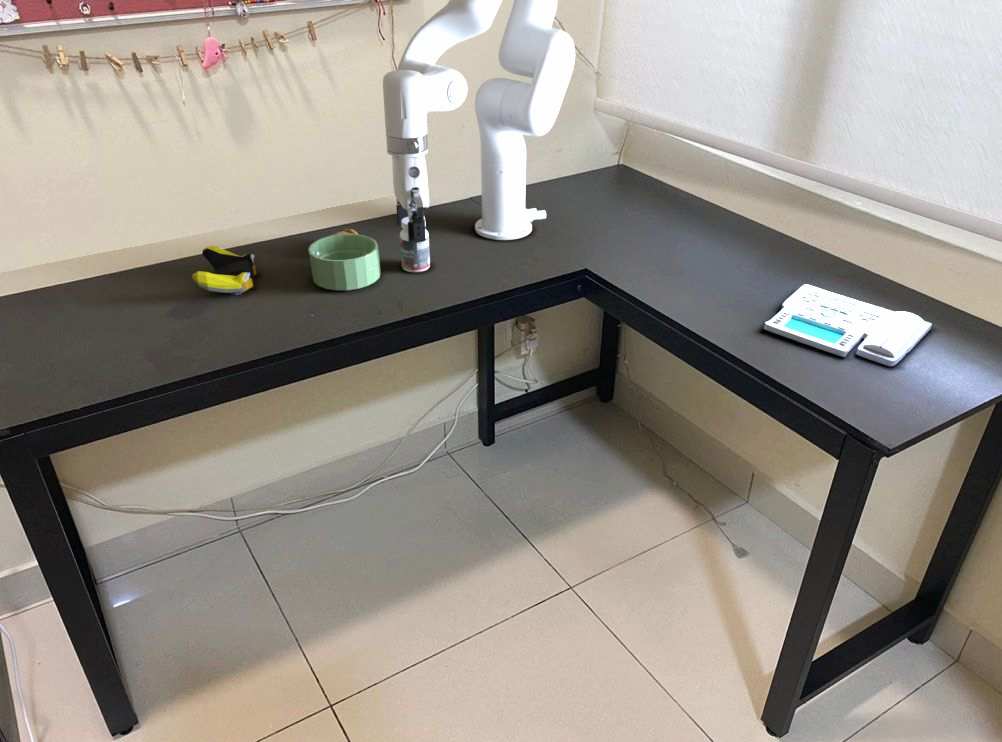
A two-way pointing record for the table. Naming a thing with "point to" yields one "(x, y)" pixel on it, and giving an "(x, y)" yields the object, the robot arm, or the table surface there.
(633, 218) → the table surface
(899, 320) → the office telephone
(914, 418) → the table surface
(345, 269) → the green bowl
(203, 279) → the gaming controller
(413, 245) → the pill bottle
